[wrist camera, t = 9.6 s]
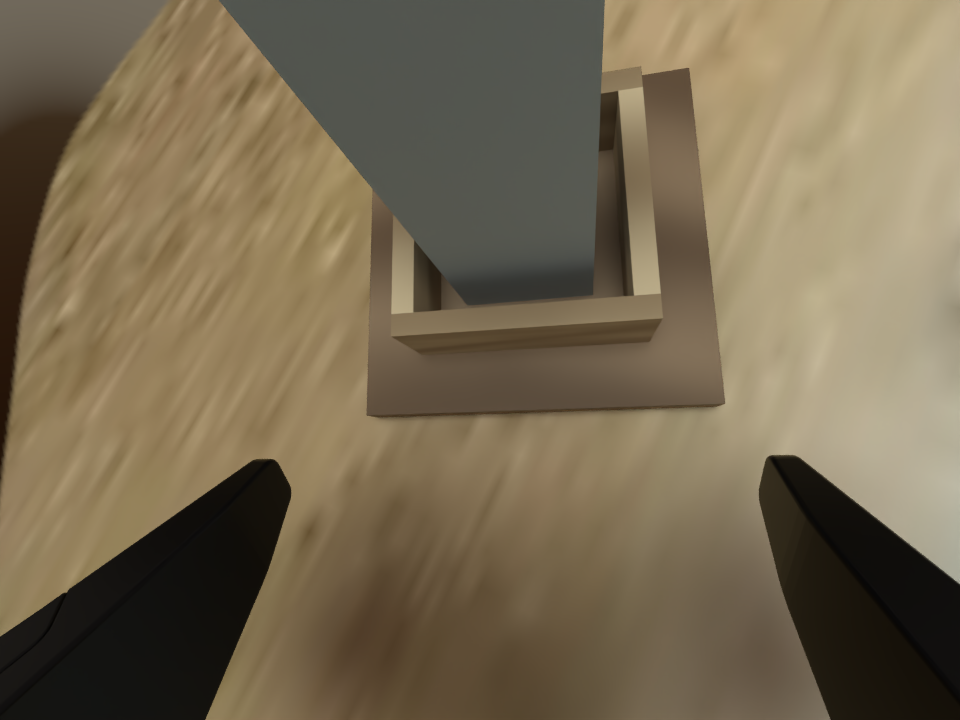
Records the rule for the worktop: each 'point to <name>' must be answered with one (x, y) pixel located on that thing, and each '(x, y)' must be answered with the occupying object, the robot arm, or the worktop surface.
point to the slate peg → (460, 125)
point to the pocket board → (571, 320)
